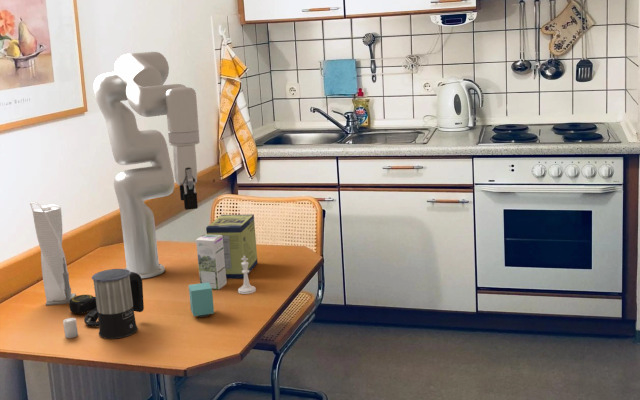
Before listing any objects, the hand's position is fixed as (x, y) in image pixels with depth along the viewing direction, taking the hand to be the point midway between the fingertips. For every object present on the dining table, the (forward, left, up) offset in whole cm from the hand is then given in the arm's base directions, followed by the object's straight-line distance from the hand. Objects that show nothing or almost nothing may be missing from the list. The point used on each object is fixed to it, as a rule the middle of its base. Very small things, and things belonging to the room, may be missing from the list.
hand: (189, 204), depth 207 cm
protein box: (-27, +14, -28) cm, 41 cm away
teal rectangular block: (+7, 0, -27) cm, 27 cm away
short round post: (+8, -32, -28) cm, 43 cm away
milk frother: (+6, -23, -28) cm, 36 cm away
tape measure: (-9, -28, -28) cm, 41 cm away
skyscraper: (-22, -36, -28) cm, 50 cm away
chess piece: (-7, +14, -28) cm, 32 cm away
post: (+7, 0, -28) cm, 28 cm away
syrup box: (-15, +6, -28) cm, 32 cm away
